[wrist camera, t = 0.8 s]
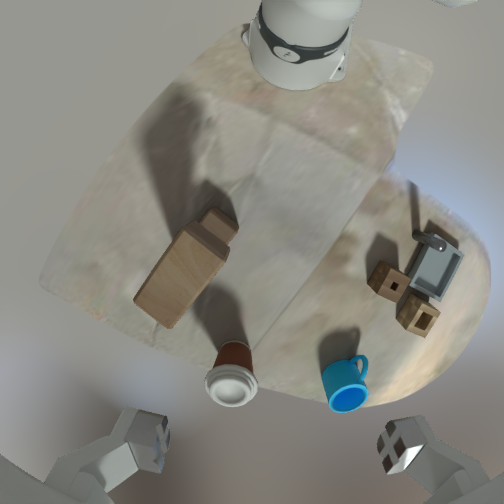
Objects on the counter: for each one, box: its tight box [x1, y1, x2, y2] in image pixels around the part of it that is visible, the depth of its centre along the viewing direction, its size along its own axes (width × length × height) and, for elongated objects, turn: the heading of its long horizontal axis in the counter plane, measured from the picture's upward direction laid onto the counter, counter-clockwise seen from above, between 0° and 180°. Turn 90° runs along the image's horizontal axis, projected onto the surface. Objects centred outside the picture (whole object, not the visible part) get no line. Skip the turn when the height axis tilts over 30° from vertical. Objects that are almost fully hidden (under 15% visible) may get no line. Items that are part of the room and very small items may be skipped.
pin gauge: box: [412, 230, 447, 252], centre depth 42 cm, size 2×2×9 cm
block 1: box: [367, 260, 411, 303], centre depth 46 cm, size 5×5×5 cm
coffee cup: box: [204, 340, 258, 407], centre depth 47 cm, size 9×9×12 cm
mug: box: [322, 355, 369, 413], centre depth 50 cm, size 12×8×8 cm
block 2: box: [396, 294, 441, 338], centre depth 48 cm, size 6×6×5 cm
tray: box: [408, 231, 464, 302], centre depth 47 cm, size 11×10×2 cm
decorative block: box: [133, 207, 239, 329], centre depth 38 cm, size 11×6×20 cm, turn 140°
